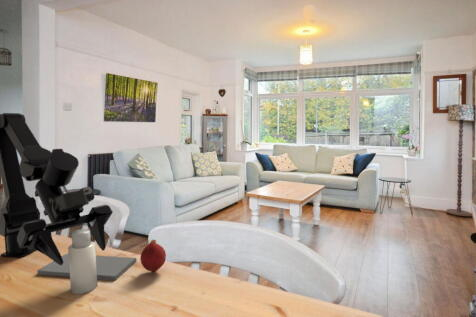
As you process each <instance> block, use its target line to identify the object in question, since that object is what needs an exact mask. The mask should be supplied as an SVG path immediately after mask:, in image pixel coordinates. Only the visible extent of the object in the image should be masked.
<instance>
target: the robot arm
mask: <svg viewBox="0 0 476 317" xmlns="http://www.w3.org/2000/svg"><path fill="white" fill-rule="evenodd" d="M19 156H20V160H19ZM79 165H80V164H79V160H78V158H77V157H76V156H74V155H73V154H71V153H69V152H65V151H64V149H63V148H53V149H52V150H51V151H50V150H49V149H47V148H45V147H42V146H41V144H40V143H39V142H38V140H37V138H36V137H35V135H34V133H33V132H32V130H31V129H30V127H29V126H28V124H27V121H26V118H25V115H24V114H22V113H17V112H16V113H15V112H3V113H0V178H1V183H2V187H3V192H4V198H5V199H4V201H3V203H2V205H1V206H0V207H1V208H0V236H1V237H4V247H5V251H4V252H3V253H0V256H1V257H6V258H8V257H10V258H23V257H25V256H27V255H29V254H31V253H33V252H35V251H37V252H39V253H40V254H43V255H45V256H46V257H48V259H50V260H51V261H52V262H53V261H55V262H56V263H57V264H59V265H62V264H63V259H62V256H63V255H62V254H61V252H60V251H59V249H58V247H57V245H56V243H55V241H54V239H53V236H52V233H54V232H58V231H62V230H66V229H69V228H70V229H71V228H74V227H77V226H82V225H86V226H87V227H88V228H90V229H89V230H90V236H91V237H92V238H93V240H94V241H95V242H96V243H95V244H97V246H98V247H99V249H101V251H105V249H106V247H107V246H106V237H105V236H106V235H105V225H106V224H107V223H108V220H109V219H110V218H111V216H112V214H113V209H112V208H111V206H109V205H108V204H102V205H97V206H94V207H91V209H90V210H89V213H88V214H84V215H81V213H83V212H84V206H86V205H87V206H88V205H89V204H90V203H89V202H92V201H94V199H95V193H94V191H93V189H92V188H91V187H90V186H84V187H82V188H81V189H79V190H75V191H70V192H69V190H68V189H67V187H66V186H68V185H69V184H70V183H71V181H72V179H73V177H74V175H75V173H76V171H77V169H78V168H79ZM24 180H26V181H27V182H32V181H33V182H34V181H36V184H35V187H34V190H35V191H34V196H35V197H39V199H40V203H41V204H42V206H43V208H44V210H43V215H44V216H45V217H46V216H48V219H49V221H50V223H47V221H46V219H43V218H41V211H40V209H39V208H38V207H37V200H36V198H35V197H33V196H32V197H31V196H30V195H29V194H27V192H26V188H25V184H24Z"/></svg>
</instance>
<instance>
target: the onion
mask: <svg viewBox="0 0 476 317" xmlns="http://www.w3.org/2000/svg"><path fill="white" fill-rule="evenodd" d="M166 259H167V253H166V250H165V249H164V247H163V246H162V245H160V244H159V243H157V240H156V239H154V238H153V239H151V240H150V242H149V244H147V245H145V247H143V249H142V252H141V254H140V260H139V261H140V263H141V265H142V267H143V269H145V270H146V271H148V272H151V273H156V272H158V270H160V269H161V268H162V267H163V265H165V262H166Z"/></svg>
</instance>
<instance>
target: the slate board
mask: <svg viewBox="0 0 476 317" xmlns="http://www.w3.org/2000/svg"><path fill="white" fill-rule="evenodd" d="M61 256H62V259H63V264H62V265H59V264H57V263H56V262H55V261H53V260H52V261H51V262H49V263H48V264H45V265H44V266H42V267H41V268H38V269H37V271H36V272H37V273H36V274H37V276H38V275H40V276H41V275H42V276H50V277H51V276H53V277H54V276H55V277H67V278H70V270H69V255H68V253H65V254H63V255H61ZM135 263H137V257H126V256H111V255H109V256H108V255H96V269H97V280H105V281H107V280H108V281H116V280H118V279H119V278H120V277H121V276H122V275H123V274H124V273H125V272H127V271H128V270H129V269H130V268H131V267H132V266H133V265H134V264H135Z"/></svg>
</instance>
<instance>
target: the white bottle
mask: <svg viewBox="0 0 476 317" xmlns="http://www.w3.org/2000/svg"><path fill="white" fill-rule="evenodd" d="M91 237H92V235H91V233H90V229H88V228H83V229H78V230H74V231H72V232H71V244H70V245H68V246H67V251H68V252H67V254H68V255H69V270H70V277H69V281H70V282H69V284H70V292H71V294H75V295H82V294H87V293H89V292H92V291H94V290H96V289H97V287H98V279H97V269H96V256H97V254H96V252H97V251H96V243H95V242H94V241H92V239H91Z"/></svg>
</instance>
